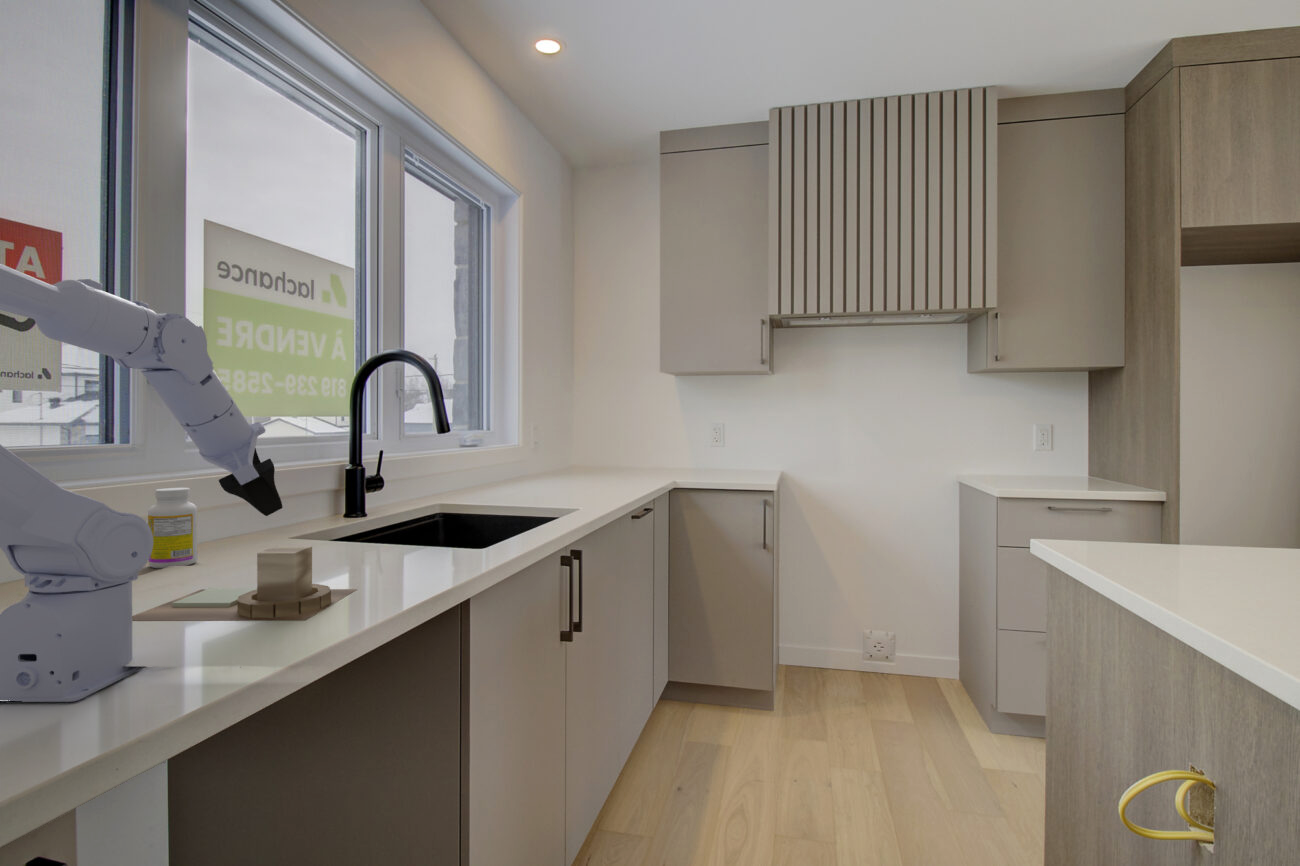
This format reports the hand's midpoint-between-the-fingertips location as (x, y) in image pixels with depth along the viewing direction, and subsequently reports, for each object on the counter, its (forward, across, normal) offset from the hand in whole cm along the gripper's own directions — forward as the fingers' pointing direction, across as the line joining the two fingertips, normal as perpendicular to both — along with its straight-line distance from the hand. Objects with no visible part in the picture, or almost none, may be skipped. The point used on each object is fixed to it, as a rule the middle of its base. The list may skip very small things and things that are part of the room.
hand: (265, 495), depth 81 cm
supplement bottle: (+24, +31, +19) cm, 44 cm away
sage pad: (+11, 0, +11) cm, 15 cm away
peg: (+10, -8, +5) cm, 14 cm away
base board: (+11, -5, +9) cm, 15 cm away
